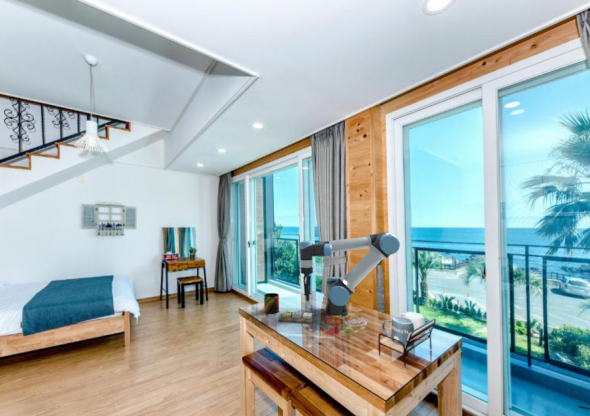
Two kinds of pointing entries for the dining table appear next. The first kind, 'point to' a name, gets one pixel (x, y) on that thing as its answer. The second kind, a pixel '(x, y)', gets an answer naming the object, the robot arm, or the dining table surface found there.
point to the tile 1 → (286, 314)
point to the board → (296, 319)
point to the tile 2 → (307, 315)
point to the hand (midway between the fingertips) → (308, 305)
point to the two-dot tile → (297, 314)
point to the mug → (271, 303)
